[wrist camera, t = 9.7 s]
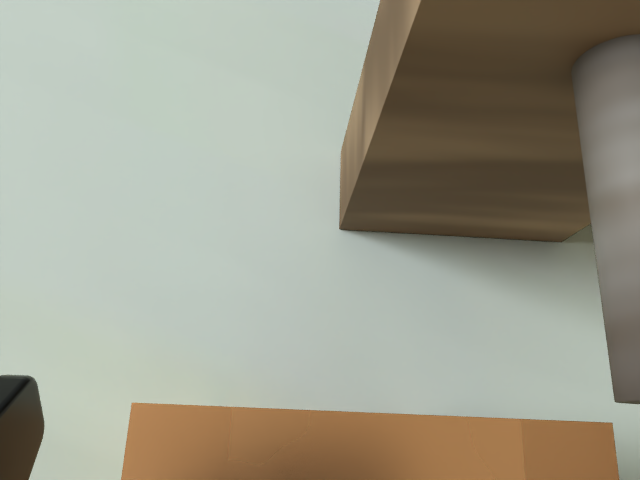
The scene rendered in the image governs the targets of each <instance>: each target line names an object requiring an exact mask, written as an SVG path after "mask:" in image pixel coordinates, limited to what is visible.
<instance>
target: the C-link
mask: <svg viewBox="0 0 640 480" xmlns="http://www.w3.org/2000/svg"><path fill="white" fill-rule="evenodd" d="M121 480H619V474H618V465H617V457H616V449H615V441H614V433H613V425H612V423H604V422H580V421H556V420H532V419H508V418H484V417H460V416H436V415H413V414H389V413H365V412H341V411H317V410H293V409H269V408H246V407H222V406H198V405H174V404H150V403H132V405H131V413H130V420H129V427H128V434H127V441H126V448H125V456H124V463H123V470H122V477H121Z"/></svg>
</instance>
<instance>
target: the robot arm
mask: <svg viewBox="0 0 640 480" xmlns="http://www.w3.org/2000/svg"><path fill="white" fill-rule="evenodd" d="M43 434H44V418H43V412H42V407H41V401H40V396H39V391H38V386H37V382H36V380H35V379H34V378H33V377H31V376H24V375H1V376H0V480H29V477H30V474H31V471H32V468H33V465H34V462H35V459H36V457H37V454H38V451H39V448H40V445H41V442H42V439H43Z"/></svg>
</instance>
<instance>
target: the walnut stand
mask: <svg viewBox="0 0 640 480" xmlns="http://www.w3.org/2000/svg"><path fill="white" fill-rule="evenodd" d="M589 224H591V226H592V234H593V242H594V249H595V257H596V264H597V272H598V279H599V287H600V294H601V302H602V309H603V317H604V325H605V332H606V340H607V347H608V355H609V362H610V370H611V377H612V385H613V393H614V400H615V402H618V403H629V404H640V0H380V4H379V8H378V12H377V15H376V19H375V23H374V27H373V31H372V35H371V38H370V42H369V46H368V50H367V54H366V58H365V61H364V65H363V69H362V73H361V77H360V81H359V84H358V88H357V92H356V96H355V100H354V104H353V107H352V111H351V115H350V119H349V123H348V127H347V130H346V134H345V138H344V142H343V146H342V150H341V173H340V222H339V229H344V230H361V231H378V232H396V233H413V234H431V235H448V236H466V237H483V238H500V239H518V240H535V241H553V242H562V241H564V240H565V239H567V238H569V237H570V236H572V235H573V234H575V233H577V232H578V231H580V230H581V229H583V228H585V227H586V226H588V225H589Z"/></svg>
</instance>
